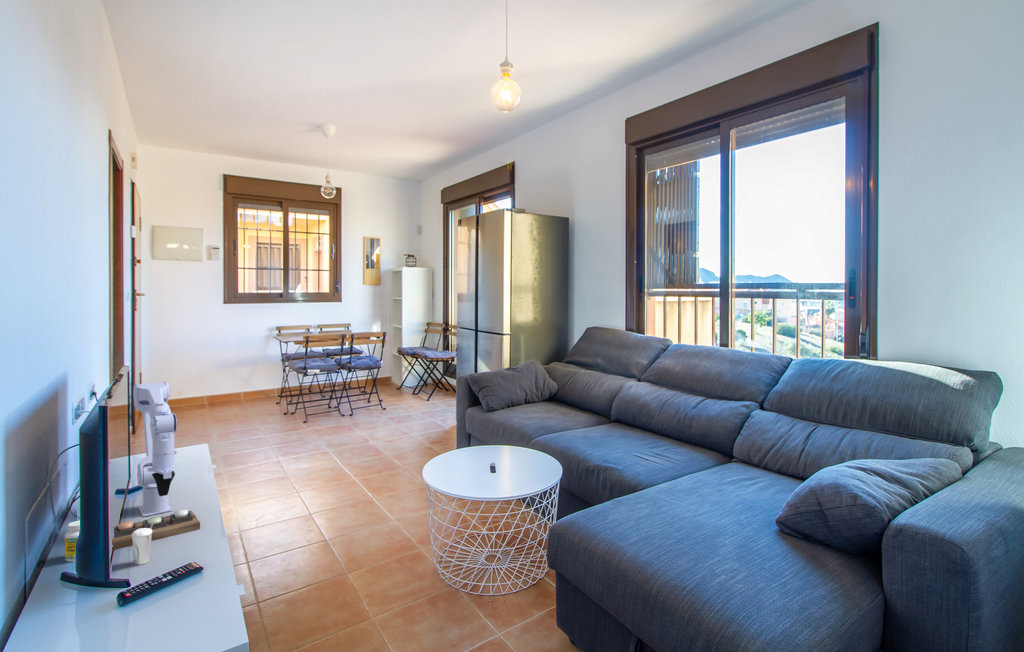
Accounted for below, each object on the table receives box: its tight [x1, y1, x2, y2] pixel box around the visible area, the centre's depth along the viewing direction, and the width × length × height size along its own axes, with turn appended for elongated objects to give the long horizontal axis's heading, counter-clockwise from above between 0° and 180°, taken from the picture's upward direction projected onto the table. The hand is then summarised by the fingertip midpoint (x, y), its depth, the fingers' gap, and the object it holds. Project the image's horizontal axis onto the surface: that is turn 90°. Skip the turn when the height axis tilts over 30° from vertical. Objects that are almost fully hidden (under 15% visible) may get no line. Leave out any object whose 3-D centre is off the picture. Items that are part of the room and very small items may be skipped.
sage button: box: [146, 516, 162, 525], centre depth 154 cm, size 4×4×2 cm
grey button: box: [173, 508, 189, 519], centre depth 159 cm, size 4×4×2 cm
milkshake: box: [132, 522, 154, 566], centre depth 136 cm, size 4×5×10 cm
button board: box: [111, 510, 201, 551], centre depth 154 cm, size 12×22×4 cm, turn 133°
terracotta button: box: [117, 520, 134, 531], centre depth 149 cm, size 4×4×2 cm
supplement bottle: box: [64, 520, 80, 562], centre depth 138 cm, size 5×5×10 cm
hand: (163, 495), depth 159 cm, fingers closed
